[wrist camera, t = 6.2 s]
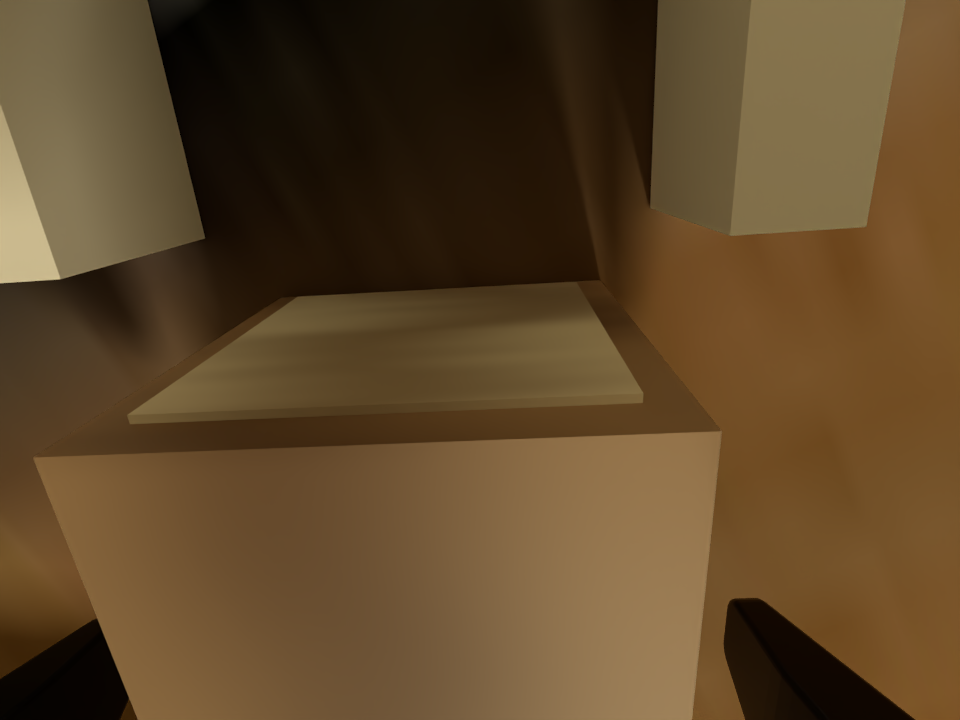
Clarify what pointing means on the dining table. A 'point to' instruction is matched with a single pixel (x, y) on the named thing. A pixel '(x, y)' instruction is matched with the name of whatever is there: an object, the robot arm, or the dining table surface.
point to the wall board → (675, 151)
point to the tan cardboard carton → (402, 514)
